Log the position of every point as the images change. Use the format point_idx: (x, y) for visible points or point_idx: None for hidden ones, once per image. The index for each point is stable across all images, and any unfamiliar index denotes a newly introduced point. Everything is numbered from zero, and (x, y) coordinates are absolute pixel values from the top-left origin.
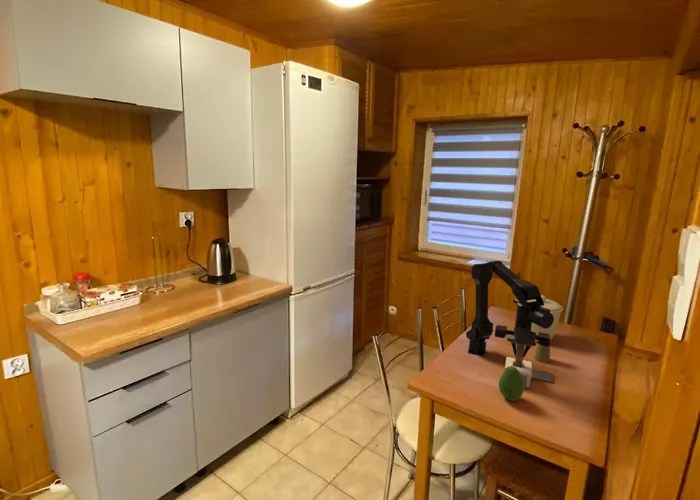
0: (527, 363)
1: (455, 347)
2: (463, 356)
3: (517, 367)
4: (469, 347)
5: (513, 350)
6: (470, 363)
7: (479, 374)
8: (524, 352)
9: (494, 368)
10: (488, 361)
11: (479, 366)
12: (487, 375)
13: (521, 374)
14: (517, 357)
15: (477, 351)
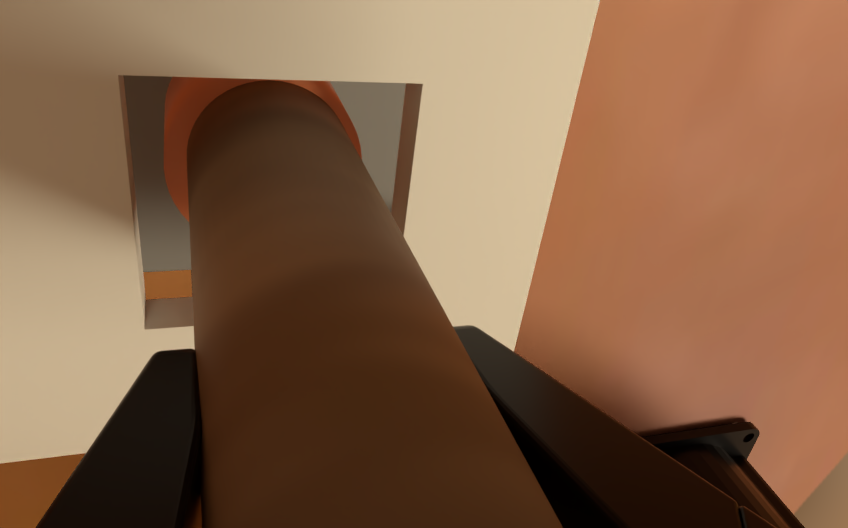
0: (73, 360)
1: (830, 448)
2: (813, 340)
3: (301, 54)
4: (763, 482)
5: (628, 432)
6: (788, 238)
7: (761, 11)
8: (165, 505)
9: (537, 256)
10: (581, 371)
11: (706, 219)
12: (661, 30)
13: (173, 84)
14: (391, 250)
15: (690, 464)
